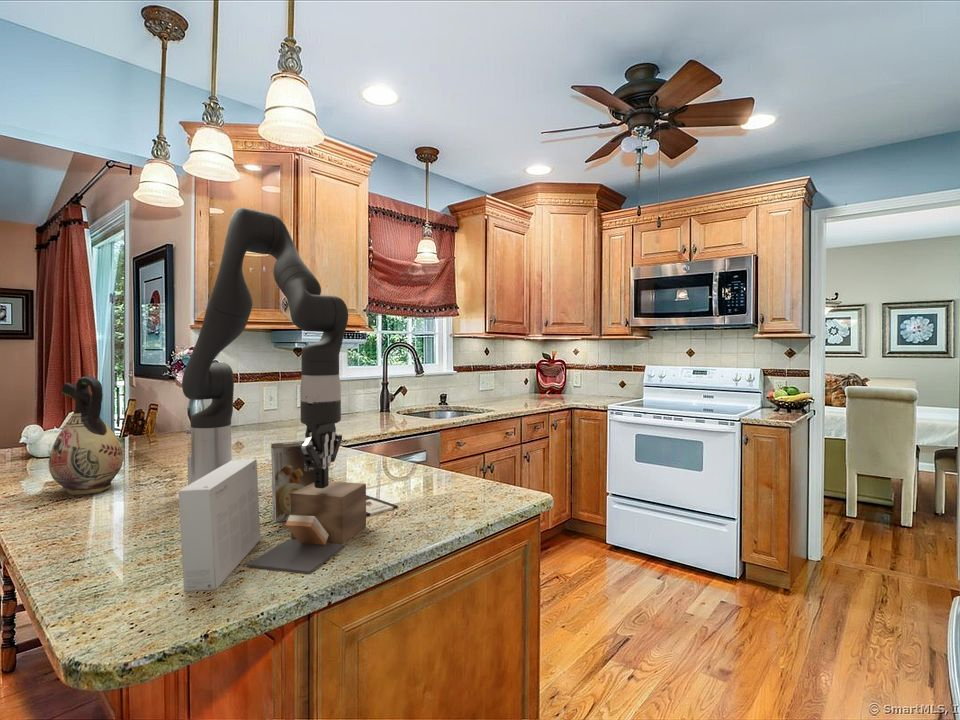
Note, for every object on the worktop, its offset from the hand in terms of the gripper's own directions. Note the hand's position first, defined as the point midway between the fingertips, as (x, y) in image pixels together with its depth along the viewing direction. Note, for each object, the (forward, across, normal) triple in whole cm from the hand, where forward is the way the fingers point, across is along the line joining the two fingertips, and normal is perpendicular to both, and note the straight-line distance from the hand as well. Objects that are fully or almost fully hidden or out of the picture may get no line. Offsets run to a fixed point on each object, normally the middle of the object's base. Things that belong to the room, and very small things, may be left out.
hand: (321, 487), depth 102 cm
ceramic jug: (+10, -17, -76) cm, 79 cm away
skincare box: (+10, +14, -10) cm, 20 cm away
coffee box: (+10, -11, -13) cm, 20 cm away
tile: (+6, +5, 0) cm, 8 cm away
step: (+10, -3, 0) cm, 11 cm away
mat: (+10, +9, 0) cm, 13 cm away
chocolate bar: (+11, -22, -3) cm, 25 cm away
